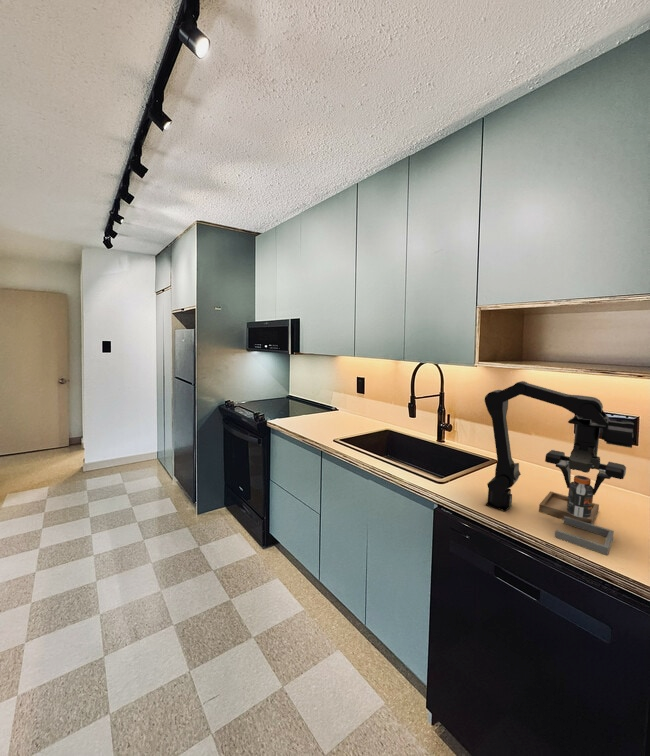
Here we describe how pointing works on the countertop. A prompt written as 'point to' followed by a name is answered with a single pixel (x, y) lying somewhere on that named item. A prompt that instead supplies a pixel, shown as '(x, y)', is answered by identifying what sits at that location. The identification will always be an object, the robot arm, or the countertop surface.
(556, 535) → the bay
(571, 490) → the pill bottle
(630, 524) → the countertop surface
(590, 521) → the tray
